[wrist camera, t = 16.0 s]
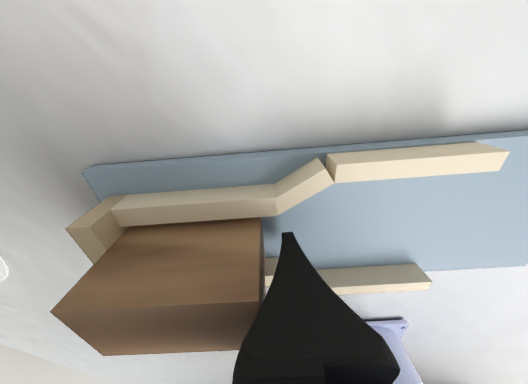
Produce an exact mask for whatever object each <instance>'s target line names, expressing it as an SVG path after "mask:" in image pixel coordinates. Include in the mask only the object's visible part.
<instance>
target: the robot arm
mask: <svg viewBox="0 0 528 384" xmlns="http://www.w3.org/2000/svg"><path fill="white" fill-rule="evenodd" d="M281 236H282V243H281V250H280V255H279V260H278V263H277V267H276V270H275V274H274V277H273V280H272V282H271V285H270V288H269V290H268V292H267V295H266V297H265V299H264V302H263V304H262V306H261V308H260V310H259V312H258V314H257V316H256V318H255V320H254V322H253V324H252V325H251V327H250V329H249V331H248V332H247V334H246V336H245V338H244V339H243V341H242V344H241V347H240V350H239V353H238V356H237V360H236V363H235V368H234V373H233V383H232V384H423V382H422V380H421V378H420V376H419V375H418V373H417V371H416V369H415V367H414V365H413V363H412V361H411V360H410V358H409V356H408V354H407V352H406V350H405V348H404V347H403V345H402V343H401V341H400V338H401V336H402V335H403V333H404V332H405V330H406V328H407V327H408V322H407V321H406V320H388V321H368V322H365V321H364V320H363V319H361V318H360V317H359V316H358V315H357V314H356V313H355V312H354V311H353V310H352V309H351V308H350V307H349V306H348V305H347V304H346V303H345V302H344V301H343V300H342V299H341V298H340V297H339V296H338V295H337V294H336V293H335V292H334V291H333V290H332V289H331V288H330V287H329V286H328V284H327V283H326V282H325V281H324V280H323V279H322V277H321V276H320V275H319V274H318V272H317V271H316V270H315V268H314V267H313V266H312V264H311V263H310V261H309V260H308V258H307V257H306V255H305V254H304V252H303V251H302V249H301V247H300V245H299V244H298V242H297V240H296V238H295V236H294V233H293V232H282V234H281Z"/></svg>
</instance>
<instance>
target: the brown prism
mask: <svg viewBox="0 0 528 384" xmlns="http://www.w3.org/2000/svg"><path fill="white" fill-rule="evenodd" d="M264 299H265V248H264V239H263V230H262V221H261V217H254V218H240V219H225V220H211V221H197V222H183V223H168V224H154V225H140V226H129V227H128V228H127V229H126V231H125V232H124V233H123V234H122V235H121V236H120V237H119V238H118V239H117V240H116V241H115V242H114V243H113V245H112V246H111V247H110V248H109V249H108V250H107V251H106V252H105V253H104V254H103V255H102V256H101V257H100V259H99V260H98V261H97V262H96V263H95V264H94V265H93V266H92V267H91V268H90V269H89V270H88V271H87V273H86V274H85V275H84V276H83V277H82V278H81V279H80V280H79V281H78V282H77V283H76V284H75V285H74V287H73V288H72V289H71V290H70V291H69V292H68V293H67V294H66V295H65V296H64V297H63V298H62V299H61V301H60V302H59V303H58V304H57V305H56V306H55V307H54V308H53V309H52V310H51V311H50V312H51V313H52V314H53V315H54V316H55V317H57V318H58V319H59V320H60V321H61V322H63V323H64V324H65V325H66V326H68V327H69V328H70V329H71V330H72V331H74V332H75V333H76V334H77V335H78V336H80V337H81V338H82V339H83V340H85V341H86V342H87V343H88V344H89V345H91V346H92V347H93V348H94V349H95V350H97V351H98V352H99V353H100V354H102V355H103V356H114V355H137V354H160V353H183V352H206V351H229V350H240V347H241V344H242V341H243V339H244V338H245V336H246V334H247V332H248V331H249V329H250V327H251V325H252V324H253V322H254V320H255V318H256V316H257V314H258V312H259V310H260V308H261V306H262V304H263V302H264Z"/></svg>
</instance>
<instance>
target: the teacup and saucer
mask: <svg viewBox="0 0 528 384" xmlns="http://www.w3.org/2000/svg"><path fill="white" fill-rule="evenodd" d="M8 273H9V270H8V266H7V264H6V262H5V261H4V259H3V258H2V257H1V256H0V282H1V281H3V280H5V279H6V278H7V276H8Z"/></svg>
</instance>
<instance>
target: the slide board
mask: <svg viewBox="0 0 528 384" xmlns="http://www.w3.org/2000/svg"><path fill="white" fill-rule="evenodd" d="M81 173H82V174H83V176H84V178H85V179H86V181H87V182H88V184H89V186H90V187H91V189H92V190H93V192H94V194H95V195H96V197H97V198H98V200H99V201H100V203H99V204H98V205H97V206H95V207H94V208H93V209H91V210H90V211H88V212H87V213H86V214H84V215H83V216H82V217H80V218H79V219H78V220H76V221H75V222H74V223H72V224H71V225H70V226H68V227H67V228H66V231H67V232H68V233H69V234H70V235H71V237H72V238H73V239H74V240H75V242H76V243H77V244H78V245H79V247H80V248H81V249H82V250H83V252H84V253H85V254H86V255H87V257H88V258H89V259H90V260H91V261H92V263H93V264H95V263H96V262H97V261H98V260H99V259H100V257H101V256H102V255H103V254H104V253H105V252H106V251H107V250H108V249H109V248H110V247H111V246H112V245H113V243H114V242H115V241H116V240H117V239H118V238H119V237H120V236H121V235H122V234H123V233H124V232H125V231H126V229H127V228H128V227H129V226H140V225H154V224H168V223H183V222H197V221H211V220H225V219H240V218H254V217H261V221H262V230H263V239H264V248H265V287H266V286H270V285H271V282H272V280H273V277H274V274H275V270H276V267H277V263H278V260H279V255H280V250H281V243H282V236H281V234H282V232H293V233H294V236H295V238H296V240H297V242H298V244H299V245H300V247H301V249H302V251H303V252H304V254H305V255H306V257H307V258H308V260H309V261H310V263H311V264H312V266H313V267H314V268H315V270H316V271H317V272H318V274H319V275H320V276H321V277H322V279H323V280H324V281H325V282H326V283H327V284H328V286H329V287H330V288H331V289H332V290H333V291H334V292H335V293H336V294H337V295H348V294H366V293H384V292H402V291H420V290H428V288H429V286H430V285H431V283H432V281H431V280H430V279H429V278H428V276H427V275H426V274H425V273H424V272H427V271H444V270H461V269H478V268H495V267H512V266H525V265H526V264H527V263H528V130H522V131H509V132H497V133H485V134H473V135H460V136H448V137H436V138H424V139H411V140H399V141H387V142H374V143H362V144H350V145H338V146H325V147H313V148H301V149H289V150H276V151H264V152H252V153H239V154H227V155H215V156H203V157H190V158H178V159H166V160H154V161H141V162H129V163H117V164H104V165H94V166H92V167H90V168H88V169H86V170H84V171H82V172H81Z"/></svg>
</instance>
